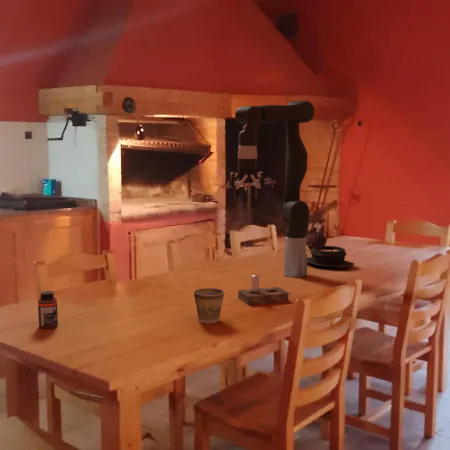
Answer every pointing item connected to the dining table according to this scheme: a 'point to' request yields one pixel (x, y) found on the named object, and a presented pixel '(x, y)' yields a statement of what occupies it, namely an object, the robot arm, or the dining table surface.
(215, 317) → the ceramic cup
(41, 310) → the supplement bottle
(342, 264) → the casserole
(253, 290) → the pin
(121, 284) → the dining table surface
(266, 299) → the socket block
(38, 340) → the dining table surface
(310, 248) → the pine cone
